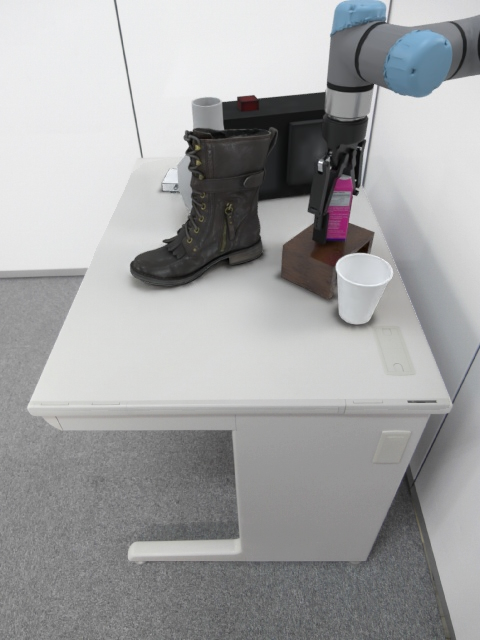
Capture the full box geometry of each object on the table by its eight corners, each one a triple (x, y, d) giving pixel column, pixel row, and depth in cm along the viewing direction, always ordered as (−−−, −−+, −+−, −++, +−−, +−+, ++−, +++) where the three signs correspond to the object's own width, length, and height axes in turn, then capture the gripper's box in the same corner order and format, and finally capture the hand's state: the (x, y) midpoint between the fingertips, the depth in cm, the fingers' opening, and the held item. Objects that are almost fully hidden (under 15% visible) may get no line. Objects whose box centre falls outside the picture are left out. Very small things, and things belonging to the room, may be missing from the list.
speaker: (348, 192, 122) (363, 98, 105) (224, 209, 116) (219, 113, 100) (327, 169, 132) (337, 81, 116) (213, 184, 127) (207, 94, 111)
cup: (386, 332, 81) (399, 285, 74) (332, 333, 81) (340, 286, 74) (374, 298, 88) (386, 252, 81) (325, 298, 88) (331, 252, 81)
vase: (250, 232, 107) (250, 112, 88) (183, 238, 106) (168, 117, 87) (242, 200, 119) (240, 88, 100) (181, 205, 118) (167, 92, 99)
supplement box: (315, 225, 92) (320, 172, 84) (344, 226, 91) (352, 173, 83) (315, 240, 87) (321, 186, 80) (346, 241, 87) (355, 187, 79)
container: (174, 168, 135) (173, 160, 134) (210, 169, 134) (210, 161, 132) (157, 200, 121) (156, 191, 119) (198, 201, 120) (197, 192, 118)
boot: (125, 269, 97) (92, 136, 78) (257, 230, 108) (258, 104, 88) (141, 298, 90) (109, 159, 70) (281, 254, 100) (288, 121, 81)
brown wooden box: (368, 263, 97) (374, 232, 92) (328, 299, 88) (333, 267, 83) (322, 244, 103) (325, 213, 97) (280, 276, 94) (282, 245, 89)
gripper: (357, 95, 81) (341, 207, 96) (291, 126, 70) (285, 248, 85) (395, 102, 77) (372, 218, 93) (332, 137, 66) (317, 262, 82)
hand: (330, 232), depth 89 cm, fingers closed on supplement box, 8 cm apart
